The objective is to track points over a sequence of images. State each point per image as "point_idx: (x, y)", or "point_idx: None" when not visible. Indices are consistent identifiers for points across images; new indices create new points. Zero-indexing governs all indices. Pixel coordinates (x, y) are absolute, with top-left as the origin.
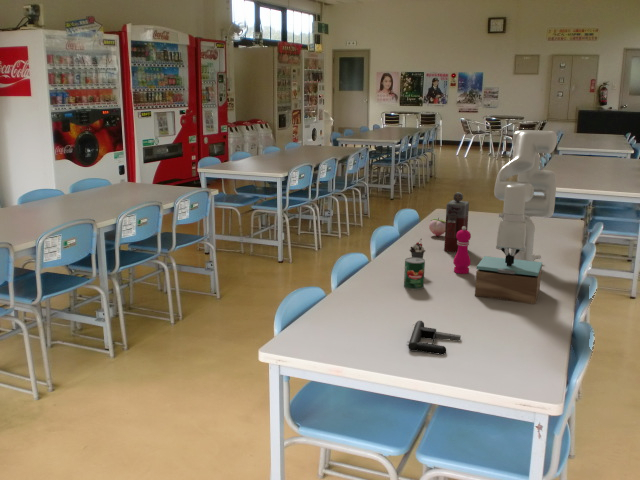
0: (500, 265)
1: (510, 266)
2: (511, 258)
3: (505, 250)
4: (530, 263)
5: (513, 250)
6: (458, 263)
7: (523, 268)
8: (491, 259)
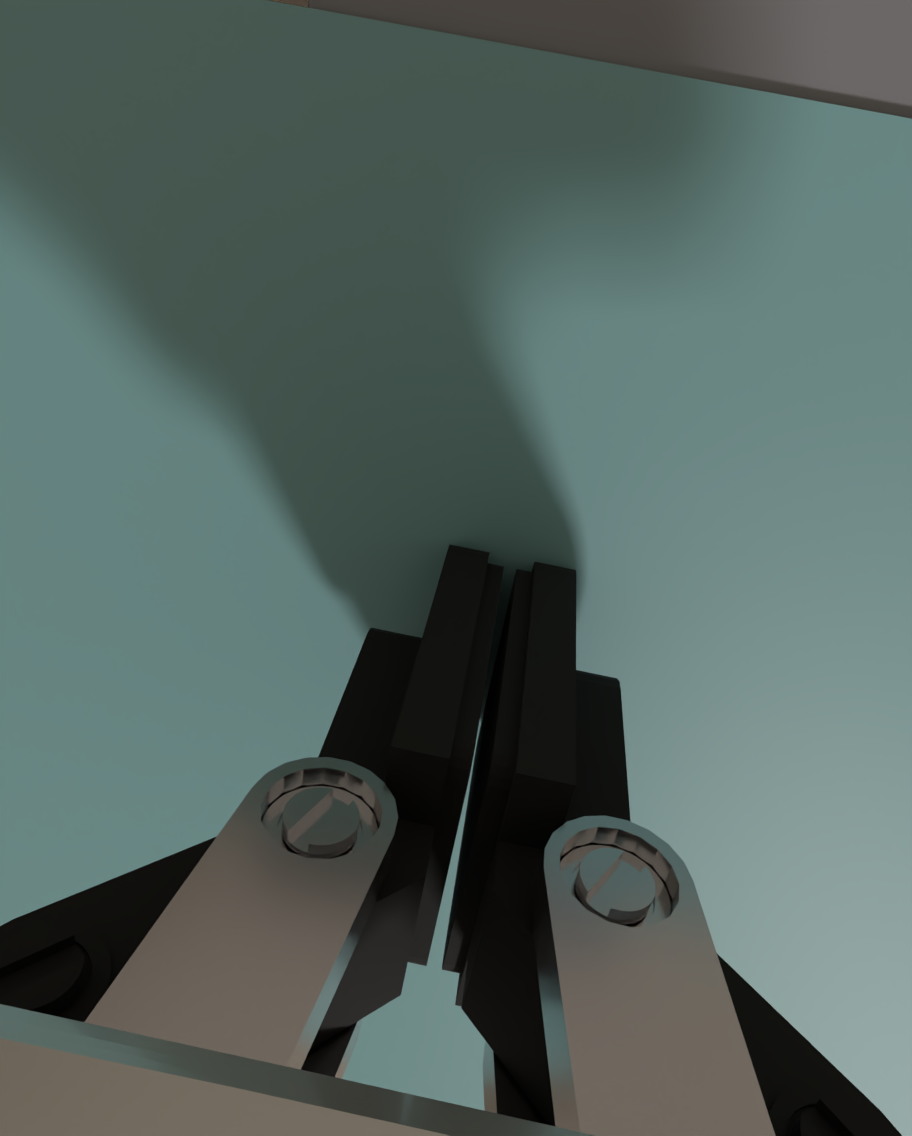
0: (759, 584)
1: (463, 539)
2: (410, 686)
3: (703, 1055)
4: (34, 879)
5: (245, 1002)
6: None
7: (86, 399)
8: (860, 1044)
